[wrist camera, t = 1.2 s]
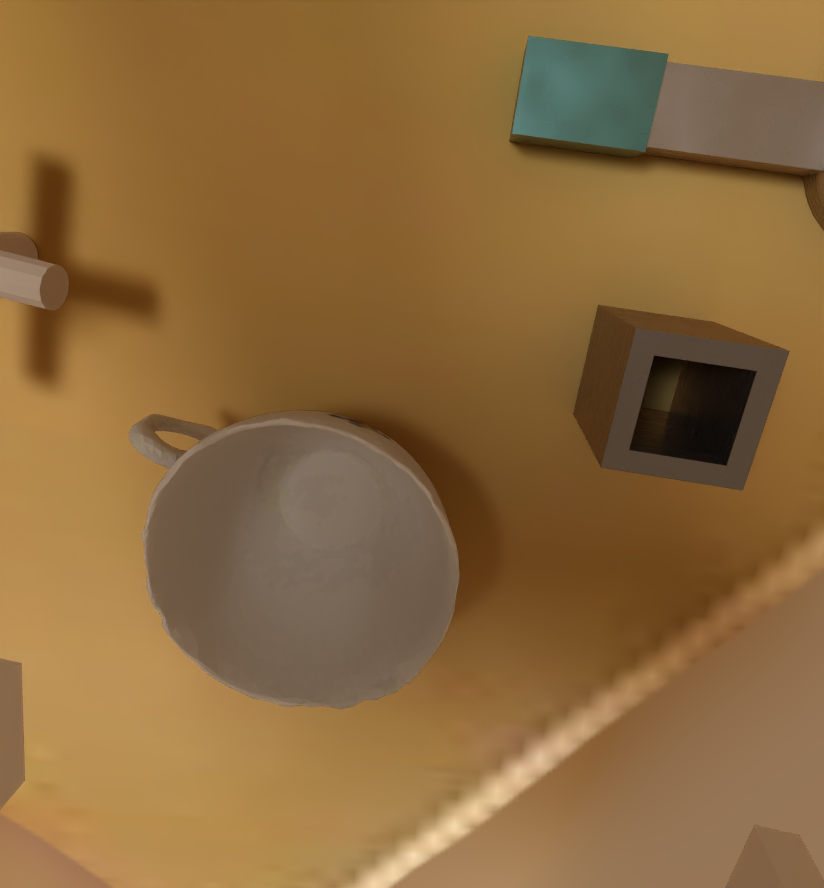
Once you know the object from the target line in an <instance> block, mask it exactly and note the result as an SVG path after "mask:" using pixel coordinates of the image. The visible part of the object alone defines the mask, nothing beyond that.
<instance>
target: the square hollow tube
mask: <svg viewBox="0 0 824 888" xmlns="http://www.w3.org/2000/svg"><path fill="white" fill-rule="evenodd" d="M788 354H789V351H788V350H786V349H783V348H780V347H778V346H775V345H772V344H770V343H767V342H765V341H762V340H759V339H757V338H754V337H752V336H749V335H746V334H744V333H741V332H738V331H736V330H733V329H731V328H728V327H725V326H723V325H720V324H718V323H715V322H709V321H703V320H696V319H689V318H682V317H676V316H669V315H662V314H655V313H649V312H642V311H635V310H629V309H622V308H615V307H608V306H602V305H598V309H597V313H596V317H595V322H594V326H593V331H592V335H591V339H590V344H589V348H588V352H587V357H586V361H585V365H584V370H583V374H582V378H581V383H580V387H579V391H578V396H577V400H576V405H575V409H574V413H573V415H574V417H575V418H576V420H577V422H578V424H579V426H580V428H581V430H582V432H583V434H584V436H585V438H586V440H587V442H588V443H589V445H590V447H591V449H592V451H593V453H594V455H595V457H596V459H597V461H598V463H599V465H600V467H601V468H608V469H614V470H620V471H626V472H632V473H639V474H645V475H651V476H657V477H663V478H669V479H676V480H682V481H688V482H694V483H700V484H707V485H713V486H719V487H725V488H731V489H738V490H743V488H744V485H745V482H746V479H747V476H748V473H749V470H750V467H751V464H752V461H753V458H754V455H755V452H756V449H757V446H758V443H759V440H760V437H761V434H762V432H763V429H764V426H765V423H766V420H767V417H768V414H769V411H770V408H771V405H772V402H773V399H774V396H775V393H776V390H777V387H778V384H779V381H780V378H781V375H782V372H783V369H784V366H785V363H786V360H787V357H788ZM654 355H655V356H661V357H668V358H675V359H681V360H684V363H683V366H682V370H681V373H680V377H679V380H678V384H677V387H676V391H675V395H674V398H673V402H672V405H671V409H670V412H666V411H660V410H653V409H647V408H641V403H642V399H643V395H644V392H645V388H646V384H647V380H648V377H649V373H650V369H651V365H652V361H653V358H654Z"/></svg>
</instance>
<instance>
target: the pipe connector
mask: <svg viewBox="0 0 824 888" xmlns="http://www.w3.org/2000/svg"><path fill="white" fill-rule="evenodd" d="M68 289H69V281H68V274H67V273H66V271H65V269H64V268H63V267H62V266H59V265H56V264H53V263H49V262H45V261H41V260H38V252H37V249H36V246H35V244H34V243H33V241H32V240H31V239H30V238H29V237H28V236H26V235H25V234H22V233H20V232H0V298H4V299H8V300H12V301H16V302H20V303H24V304H28V305H32V306H36V307H40V308H43V309H47V310H52V311H55V310H56V309H58V308H60V307H61V306H62V304H63V303H64V301H65V299H66V298H67V293H68Z"/></svg>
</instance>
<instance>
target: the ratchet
mask: <svg viewBox="0 0 824 888" xmlns="http://www.w3.org/2000/svg"><path fill="white" fill-rule="evenodd" d="M667 59H668V54H665V53H657V52H650V51H642V50H634V49H626V48H618V47H611V46H603V45H595V44H587V43H579V42H572V41H564V40H556V39H548V38H540V37H533V36H529V37H528V41H527V44H526V48H525V52H524V58H523V64H522V70H521V76H520V82H519V87H518V93H517V99H516V105H515V111H514V117H513V123H512V129H511V135H510V142H517V143H525V144H532V145H539V146H546V147H554V148H561V149H568V150H576V151H583V152H590V153H598V154H605V155H612V156H620V157H627V158H634V157H636V156H638V155H640V154H645V155H653V156H660V157H667V158H675V159H682V160H689V161H697V162H704V163H711V164H719V165H726V166H733V167H741V168H748V169H755V170H763V171H770V172H777V173H785V174H792V175H799V176H804V186H805V193H806V196H807V200H808V203H809V206H810V208H811V211H812V213H813V215H814V217H815V218H816V220H817V221H818V223H819V224H820V226H821V227H822V228H823V230H824V82H819V81H811V80H803V79H795V78H788V77H780V76H772V75H764V74H757V73H749V72H741V71H733V70H726V69H718V68H710V67H702V66H695V65H687V64H679V63H671V62H667Z"/></svg>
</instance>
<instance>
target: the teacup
mask: <svg viewBox="0 0 824 888" xmlns="http://www.w3.org/2000/svg"><path fill="white" fill-rule="evenodd" d="M155 431H170V432H176V433H181V434H184V435H188V436H191V437H193V438H196V439H198V440H200V442H199V443H197V444H196V445H195V446H193V447H192V448H191V449H189V450H188V451H184V450H179V449H177V448H174V447H172V446H170V445H169V444H167V443H166V442H164V441H163V440H161V439H160V438H159V436H158V435H157V434H156V433H155ZM129 440H130V442H131V443H132V445H133V447H134V448H135V449H136V450H137V451H138V452H139V453H141V454H142V455H144V456H145V457H147V458H148V459H150V460H152V461H153V462H155V463H156V464H159V465H162V466H165V467H168V468H170V469H169V470H168V472H167V473H166V474H165V476H164V477H163V478H162V480H161V481H160V483H159V484H158V486H157V488H156V490H155V492H154V494H153V496H152V499H151V502H150V506H149V510H148V515H147V522H146V526H145V528H144V531H143V533H142V537H143V544H144V554H145V563H146V568H147V589H148V592H149V595H150V599H151V602H152V604H153V605H154V607H155V609H156V610H157V611H158V612H159V614H160V615H161V616H162V617H163V619H162V624H163V628H164V629H165V631H166V632H167V634H168V635H169V636H170V637H171V638H172V640H173V641H174V642H175V643H176V644H177V645H178V647H179V648H180V649H181V650H182V651H183V652H184V653H185V654H186V655H187V656H188V657H190V658H191V659H192V660H193V661H194V662H196V664H197V665H198V666H199V667H200V668H201V669H202V670H203V671H205V672H206V673H207V674H209V675H210V676H212V677H213V678H215V679H216V680H218V681H219V682H221V683H223V684H224V685H226V686H228V687H230V688H232V689H234V690H236V691H239V692H241V693H243V694H245V695H247V696H249V697H251V698H254V699H260V700H264V701H268V702H272V703H276V704H278V705H280V706H285V707H294V706H301V705H305V706H308V707H316V706H325V707H333V708H338V709H344V708H348V707H352V706H355V705H357V704H358V703H360V702H362V701H363V700H377V699H379V698H381V697H383V696H385V695H388V694H392V693H395V692H397V691H398V690H399V689H400V688H401V687H402V686H403V685H405V684H407V683H410V682H411V681H412V680H413V679H414V678H415V677H416V676H417V675H418V674H419V673H420V671H421V669H422V668H423V667H424V665H425V664H426V663H427V662H428V660H429V659H430V658H431V657H432V655H433V654H434V653H435V652H436V650H437V649H438V647H439V646H440V644H441V642H442V641H443V639H444V637H445V635H446V633H447V630H448V628H449V625H450V622H451V619H452V617H453V614H454V609H455V602H456V595H457V588H458V583H459V579H460V575H459V559H458V550H457V546H456V542H455V539H454V536H453V533H452V530H451V527H450V524H449V521H448V518H447V514H446V512H445V510H444V507H443V505H442V503H441V500H440V498H439V496H438V494H437V491H436V490H435V488H434V486H433V484H432V483H431V481H430V479H429V478H428V476H427V475H426V474H425V472H424V471H423V469H422V468H421V467H420V465H419V464H418V463H417V462H416V461H415V460H414V458H413V457H412V456H411V455H410V454H409V453H408V452H407V451H406V450H404V449H403V448H402V447H401V446H400V445H399V444H398V443H396V442H395V441H394V440H392V439H391V438H389V437H388V436H387V435H385V434H384V433H382V432H381V431H379V430H377V429H375V428H373V427H371V426H369V425H367V424H365V423H363V422H361V421H358V420H356V419H353V418H350V417H346V416H342V415H338V414H334V413H330V412H325V411H310V410H294V411H281V412H273V413H267V414H262V415H258V416H255V417H251V418H248V419H245V420H242V421H239V422H237V423H234V424H232V425H229V426H227V427H225V428H223V429H220V430H218V431H217V430H215V429H214V428H211V427H208V426H205V425H201V424H196V423H191V422H187V421H183V420H179V419H175V418H171V417H167V416H163V415H156V414H153V415H149V416H147V417H146V418H144V419H142V420H141V421H139V422H138V423H136V424H135V425H133V426H132V428H131V430H130V431H129Z"/></svg>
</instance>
